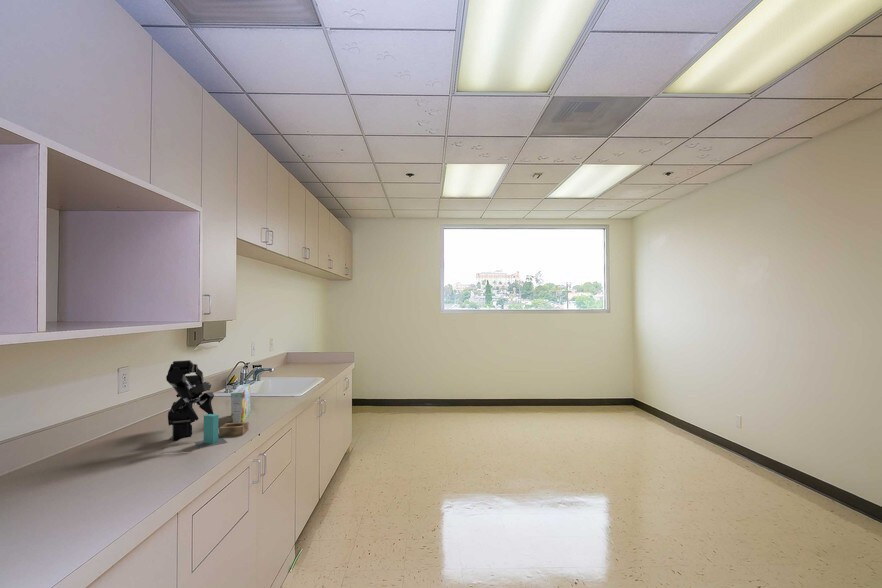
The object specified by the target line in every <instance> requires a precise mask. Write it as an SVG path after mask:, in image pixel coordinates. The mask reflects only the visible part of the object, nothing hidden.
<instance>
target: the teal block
mask: <svg viewBox="0 0 882 588" xmlns="http://www.w3.org/2000/svg"><path fill="white" fill-rule="evenodd" d="M219 416H220V415H219V414H214V413H213V414H208V413H207V414H205V415H203V440H204V443H209V444H214V443H217V442H218V437H219V419H220V417H219Z"/></svg>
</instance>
